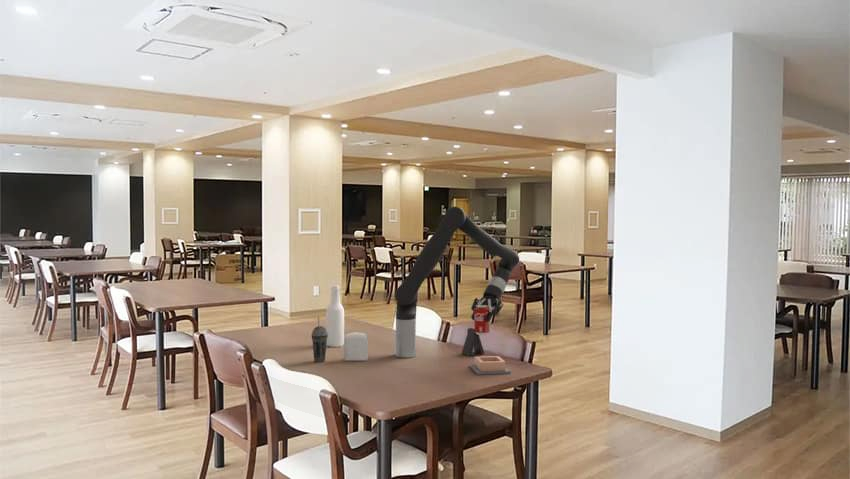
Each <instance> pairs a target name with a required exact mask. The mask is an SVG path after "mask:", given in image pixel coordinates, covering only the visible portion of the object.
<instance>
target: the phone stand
mask: <svg viewBox="0 0 850 479" xmlns="http://www.w3.org/2000/svg"><path fill="white" fill-rule="evenodd" d="M466 332H467V334H466V337H465V341H464V345H463V348H462V350H461V354H462V355H464V356H467V357H473V356H474V355H476V356H482V355H481V354H484V355H485V350H484V347H483V345H482V340H481V338H480V335H477V334H476V333H475V327H474V328H473V327H468V328H467V331H466ZM474 357H475V356H474Z"/></svg>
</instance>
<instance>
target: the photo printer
mask: <svg viewBox="0 0 850 479" xmlns="http://www.w3.org/2000/svg"><path fill="white" fill-rule="evenodd" d="M368 351H369V350H368V336H367V334H366V333H363V332H355V331H354V332H349V333H346V334H344V360H345V361H346V362H347V361H350V362H351V361H353V362H354V361H361V362H362V361H363V362H364V361H368V357H369V356H368V353H369V352H368Z"/></svg>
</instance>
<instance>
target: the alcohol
mask: <svg viewBox="0 0 850 479" xmlns="http://www.w3.org/2000/svg"><path fill="white" fill-rule="evenodd" d="M330 289H331V293H330V302H329V305H328V306H326V310H325V312H326V313H325V314H326V316H325V317H326V318H325V319H326V320H325V323H326V325H325V329H326V330H327V333H328V337H327V343H326V347H328V346H330V347H329V348H339V347H338V346H341V347H343V346H345V308H344V306H343V305H342V303H341V298H340V297H341V295H340V285H339V284H332V285H331V288H330Z"/></svg>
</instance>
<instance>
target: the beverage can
mask: <svg viewBox="0 0 850 479" xmlns="http://www.w3.org/2000/svg"><path fill="white" fill-rule="evenodd" d="M488 312H489V308H488V306H487V305H477V306H476V308H475V309H474V320H473V321H474V329H475V333H476V334H477V335H479V336H485V335H489V333H490V332H491V331H490V329H491V328H490V321H489V322H486V321H485V318H486V316H487V314H488Z"/></svg>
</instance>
